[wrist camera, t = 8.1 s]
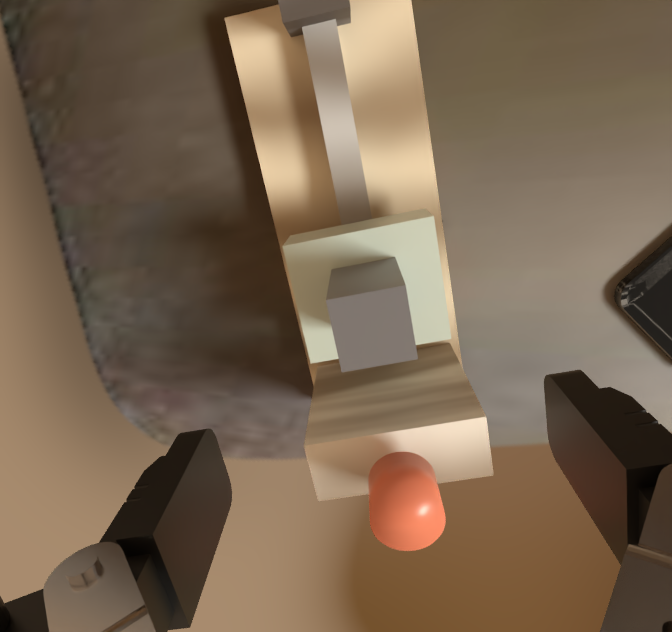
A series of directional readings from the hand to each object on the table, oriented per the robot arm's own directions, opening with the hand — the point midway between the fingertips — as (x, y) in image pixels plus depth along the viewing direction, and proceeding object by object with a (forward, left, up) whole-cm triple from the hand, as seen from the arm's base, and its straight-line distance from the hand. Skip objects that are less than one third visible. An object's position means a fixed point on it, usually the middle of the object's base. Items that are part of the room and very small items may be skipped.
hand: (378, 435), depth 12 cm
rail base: (-3, 0, -19) cm, 19 cm away
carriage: (0, 0, -15) cm, 15 cm away
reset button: (+7, 0, -7) cm, 10 cm away
